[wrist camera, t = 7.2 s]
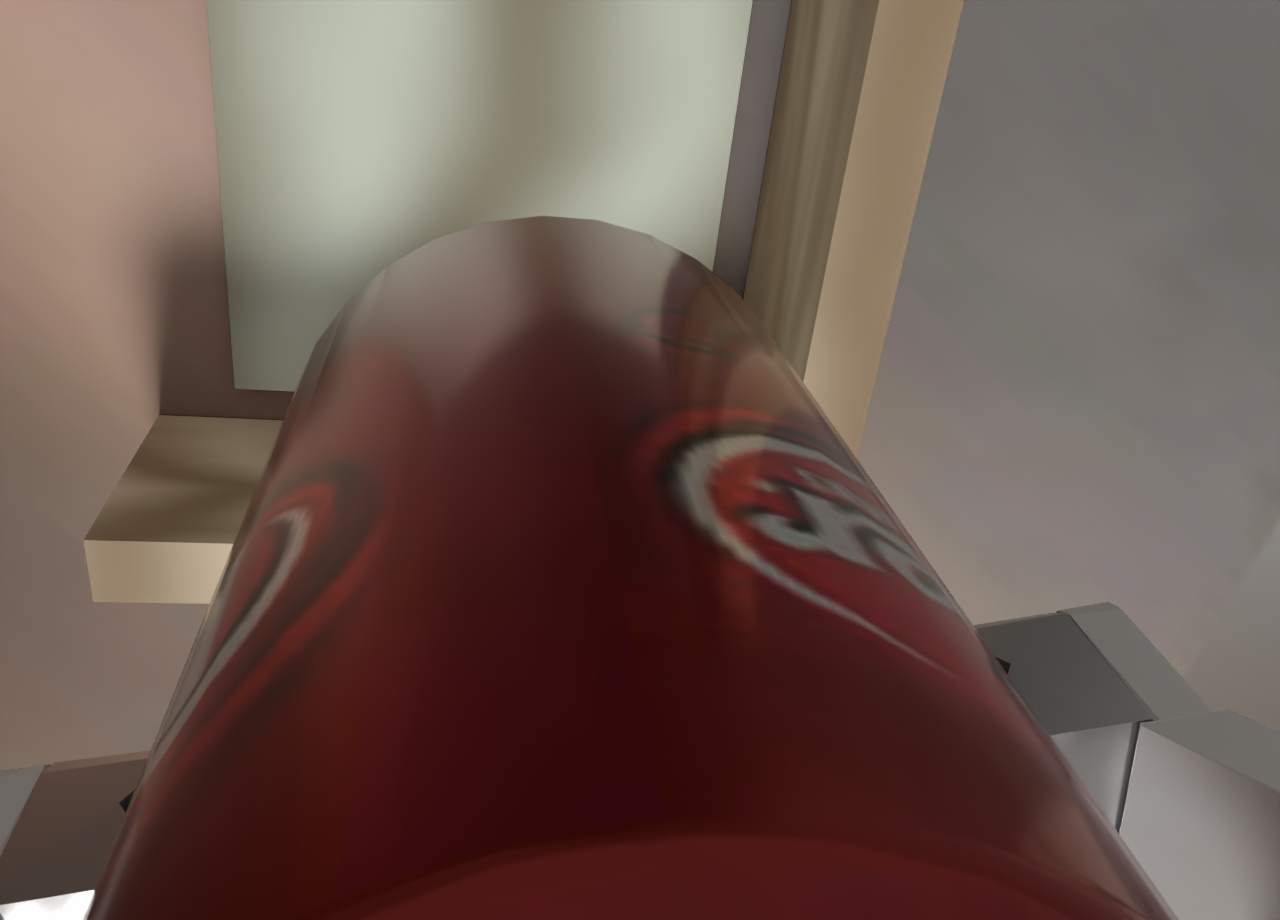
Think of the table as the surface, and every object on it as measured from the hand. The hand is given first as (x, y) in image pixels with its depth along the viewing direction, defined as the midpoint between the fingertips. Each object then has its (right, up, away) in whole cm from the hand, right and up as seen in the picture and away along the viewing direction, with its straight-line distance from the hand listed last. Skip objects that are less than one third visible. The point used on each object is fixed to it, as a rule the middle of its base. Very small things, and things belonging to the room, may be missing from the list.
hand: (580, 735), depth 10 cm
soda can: (-1, +3, +6) cm, 7 cm away
